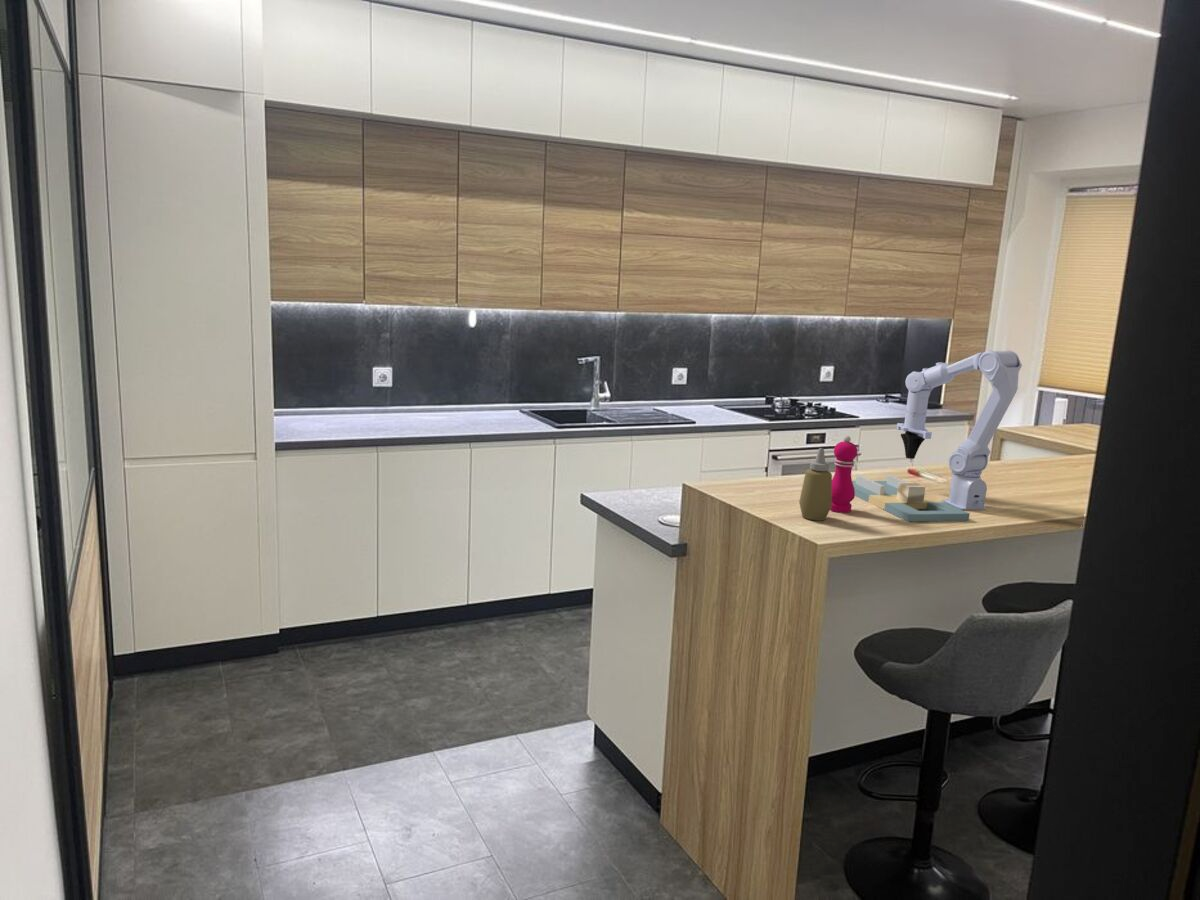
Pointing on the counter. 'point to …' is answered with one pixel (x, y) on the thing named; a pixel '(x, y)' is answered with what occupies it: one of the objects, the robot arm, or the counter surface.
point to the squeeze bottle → (817, 489)
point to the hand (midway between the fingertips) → (910, 458)
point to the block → (910, 492)
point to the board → (886, 499)
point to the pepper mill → (843, 476)
